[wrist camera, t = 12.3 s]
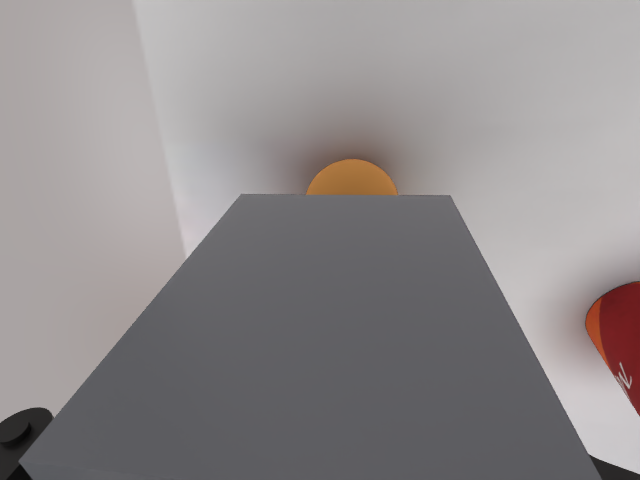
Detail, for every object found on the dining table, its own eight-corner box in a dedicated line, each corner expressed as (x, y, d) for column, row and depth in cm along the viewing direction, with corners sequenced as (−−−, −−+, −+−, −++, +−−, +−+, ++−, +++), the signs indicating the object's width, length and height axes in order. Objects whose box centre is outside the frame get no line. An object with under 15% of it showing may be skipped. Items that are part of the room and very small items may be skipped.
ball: (349, 221, 23) (349, 143, 21) (414, 248, 20) (424, 159, 17) (288, 249, 20) (281, 162, 18) (353, 285, 17) (354, 185, 14)
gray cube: (241, 194, 12) (17, 461, 4) (450, 195, 11) (628, 529, 4) (264, 342, 15) (160, 642, 8) (427, 352, 14) (493, 699, 7)
